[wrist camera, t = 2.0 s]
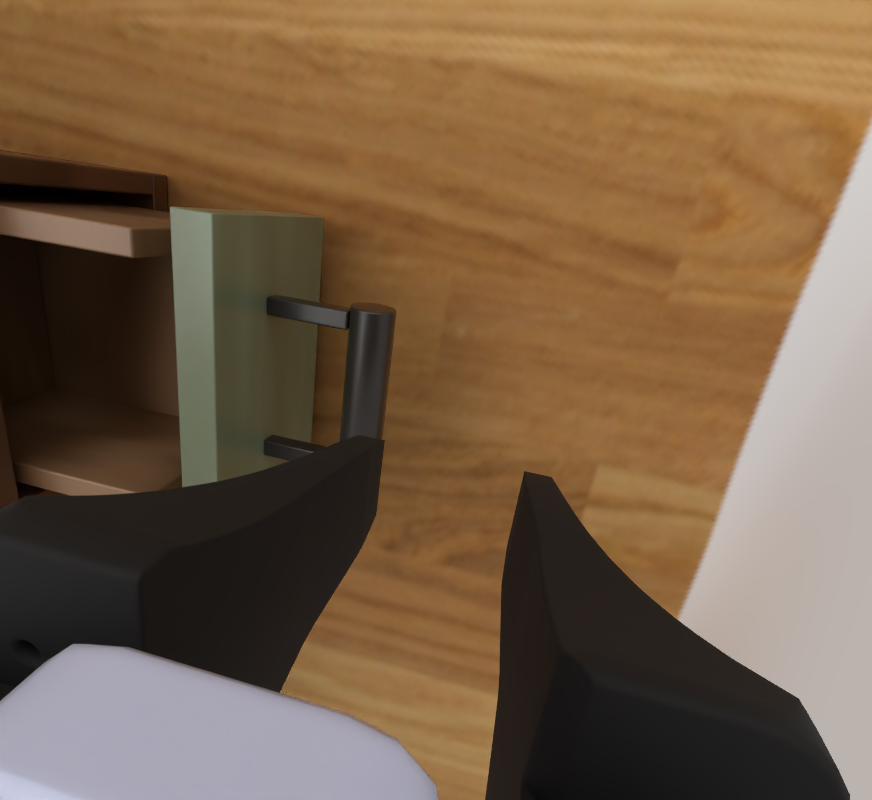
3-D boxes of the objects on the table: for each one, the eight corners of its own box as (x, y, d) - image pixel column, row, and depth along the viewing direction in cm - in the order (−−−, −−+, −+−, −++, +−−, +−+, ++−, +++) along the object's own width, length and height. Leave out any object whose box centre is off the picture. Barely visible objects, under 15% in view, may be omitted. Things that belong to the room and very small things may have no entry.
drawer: (431, 233, 18) (371, 238, 12) (399, 484, 22) (339, 590, 15) (35, 171, 20) (-193, 147, 14) (66, 407, 24) (-104, 472, 18)
